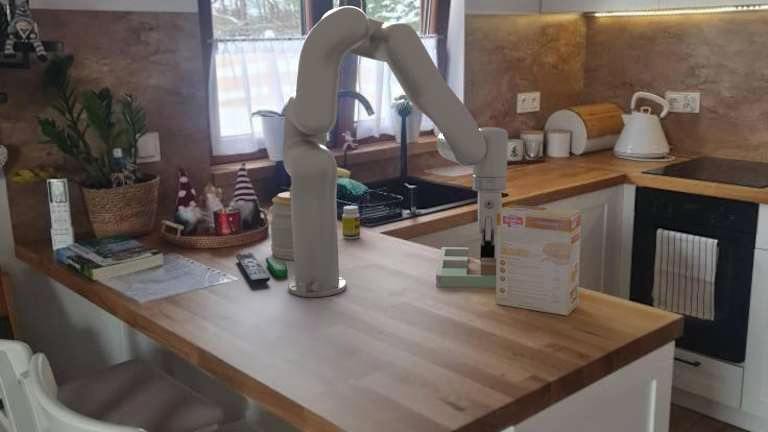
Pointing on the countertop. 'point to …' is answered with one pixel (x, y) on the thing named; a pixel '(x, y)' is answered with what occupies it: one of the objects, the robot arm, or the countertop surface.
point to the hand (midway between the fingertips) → (487, 261)
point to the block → (488, 266)
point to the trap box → (459, 270)
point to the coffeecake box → (538, 258)
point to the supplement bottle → (351, 222)
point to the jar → (282, 227)
